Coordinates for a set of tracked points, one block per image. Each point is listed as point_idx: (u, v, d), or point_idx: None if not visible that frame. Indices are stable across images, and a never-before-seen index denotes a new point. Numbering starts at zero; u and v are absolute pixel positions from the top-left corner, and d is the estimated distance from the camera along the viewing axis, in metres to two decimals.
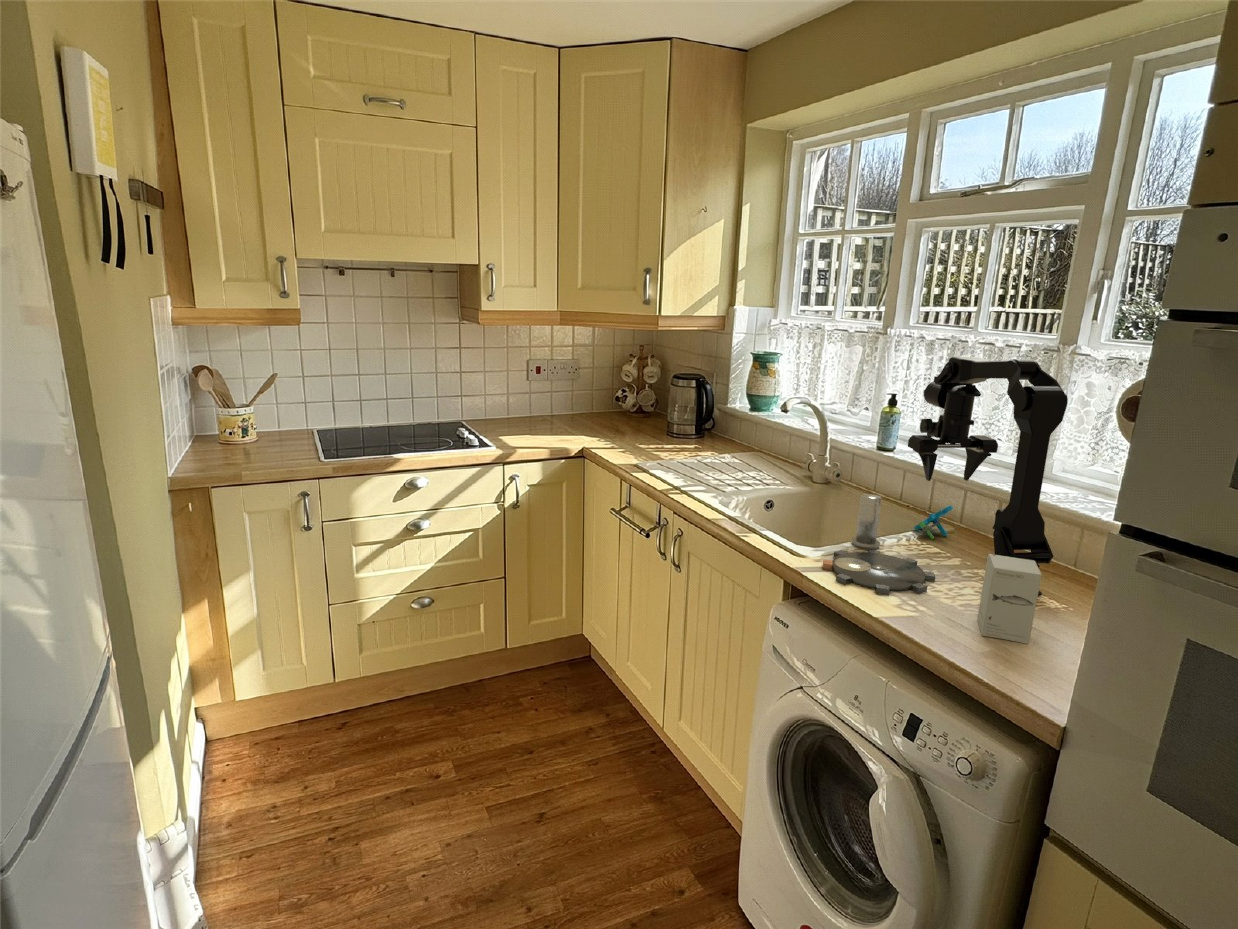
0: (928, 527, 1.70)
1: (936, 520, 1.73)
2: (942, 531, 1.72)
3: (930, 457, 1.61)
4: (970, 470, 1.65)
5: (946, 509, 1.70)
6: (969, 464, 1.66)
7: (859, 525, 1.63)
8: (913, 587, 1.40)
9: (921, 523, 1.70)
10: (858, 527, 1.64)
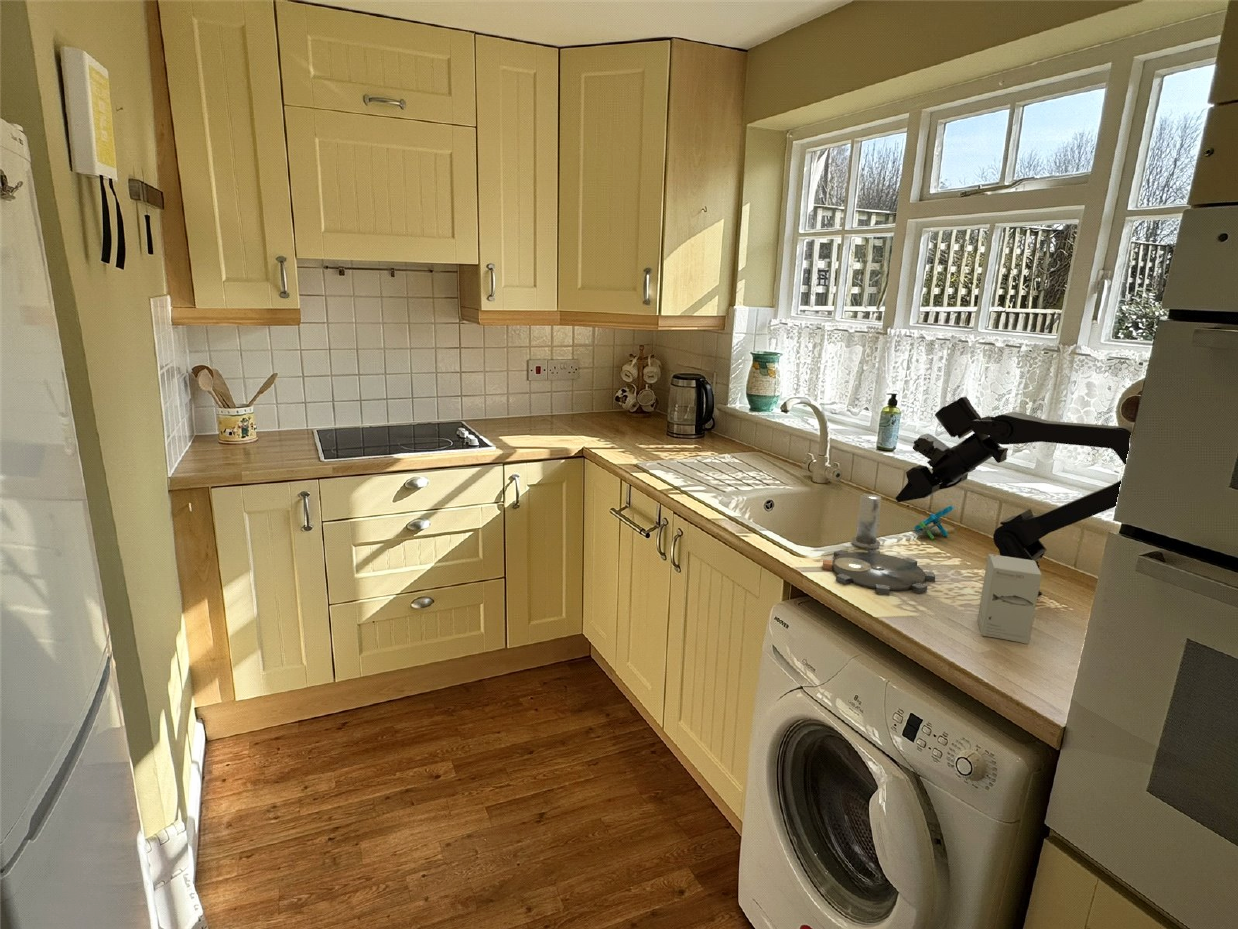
0: (928, 527, 1.70)
1: (936, 520, 1.73)
2: (942, 531, 1.72)
3: None
4: None
5: (946, 509, 1.70)
6: None
7: (859, 525, 1.63)
8: (913, 587, 1.40)
9: (921, 523, 1.70)
10: (858, 527, 1.64)
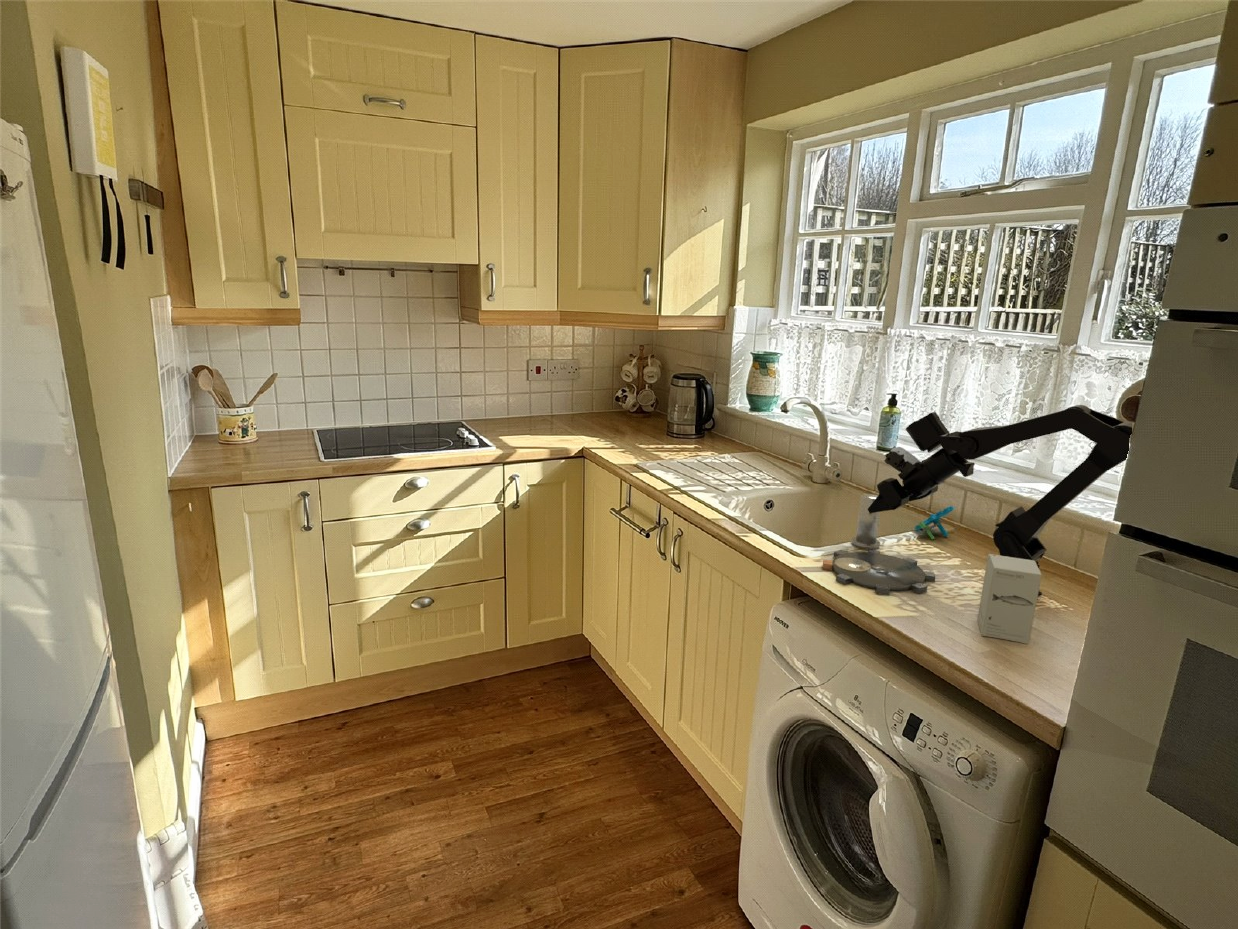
0: (928, 527, 1.70)
1: (937, 520, 1.73)
2: (943, 531, 1.72)
3: None
4: None
5: (947, 509, 1.70)
6: None
7: (859, 525, 1.63)
8: (913, 587, 1.40)
9: (921, 523, 1.70)
10: (858, 527, 1.64)
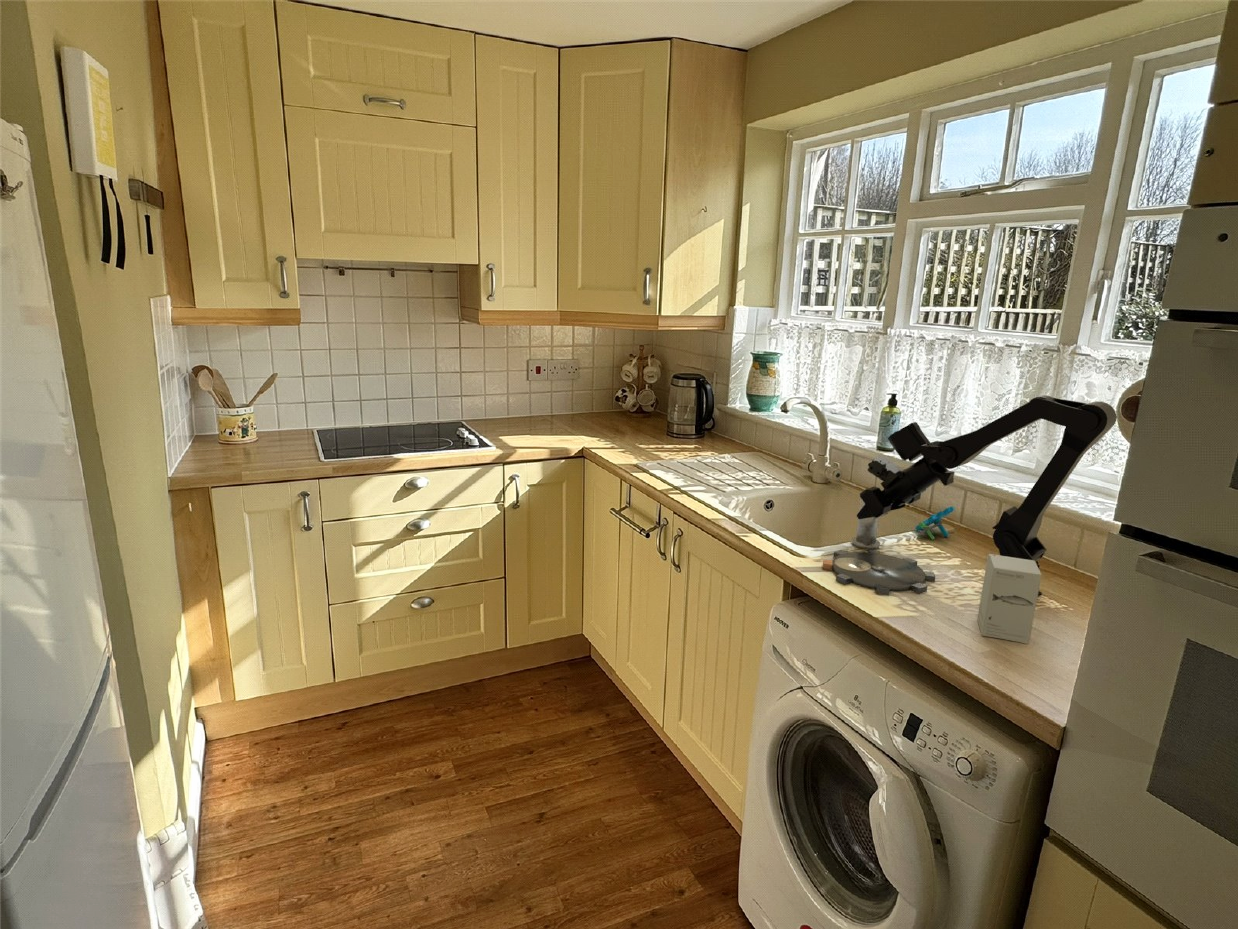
0: (928, 527, 1.70)
1: (937, 521, 1.72)
2: (943, 532, 1.72)
3: None
4: None
5: (947, 510, 1.70)
6: None
7: (859, 525, 1.63)
8: (913, 587, 1.40)
9: (921, 523, 1.70)
10: (858, 527, 1.64)
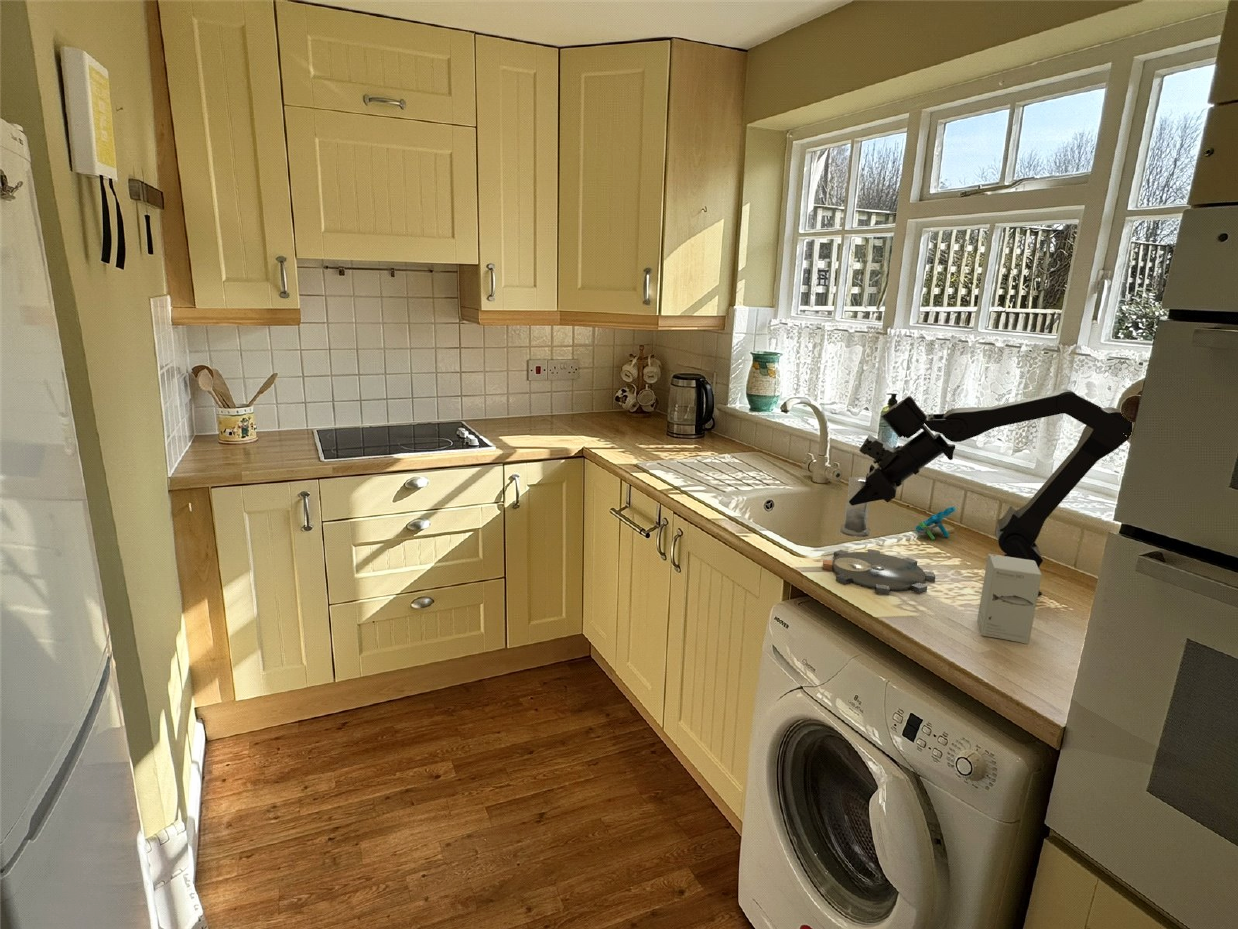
0: (929, 528, 1.70)
1: (938, 521, 1.72)
2: (944, 532, 1.72)
3: None
4: None
5: (947, 510, 1.69)
6: None
7: (850, 511, 1.51)
8: (913, 587, 1.40)
9: (921, 523, 1.70)
10: (849, 514, 1.51)
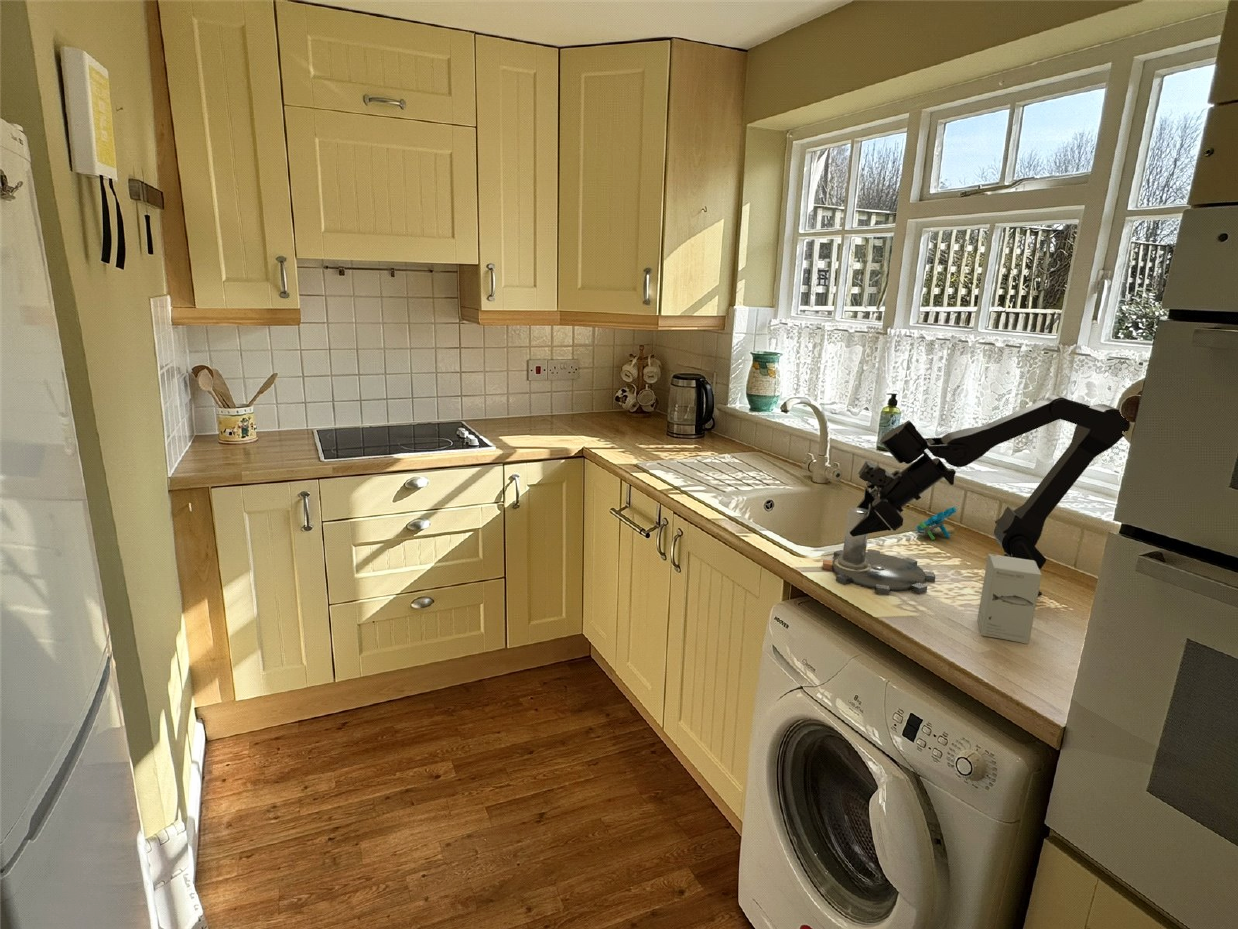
0: (929, 528, 1.70)
1: (939, 521, 1.72)
2: (944, 532, 1.71)
3: None
4: None
5: (948, 510, 1.69)
6: None
7: (850, 544, 1.47)
8: (913, 587, 1.40)
9: (921, 523, 1.70)
10: (848, 546, 1.47)
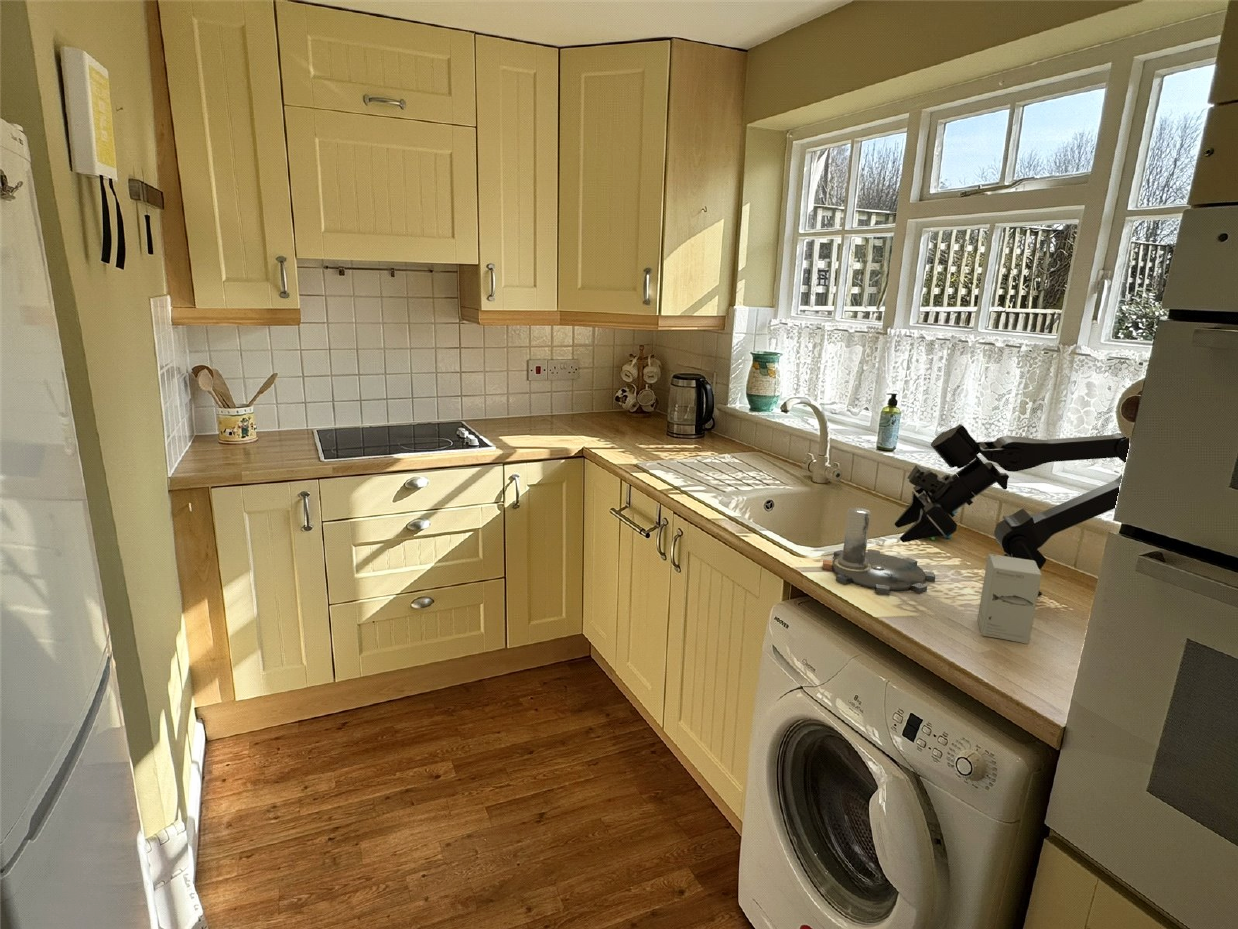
0: None
1: None
2: None
3: None
4: (910, 522, 1.49)
5: None
6: (911, 515, 1.49)
7: (850, 544, 1.47)
8: (913, 587, 1.40)
9: None
10: (848, 546, 1.47)
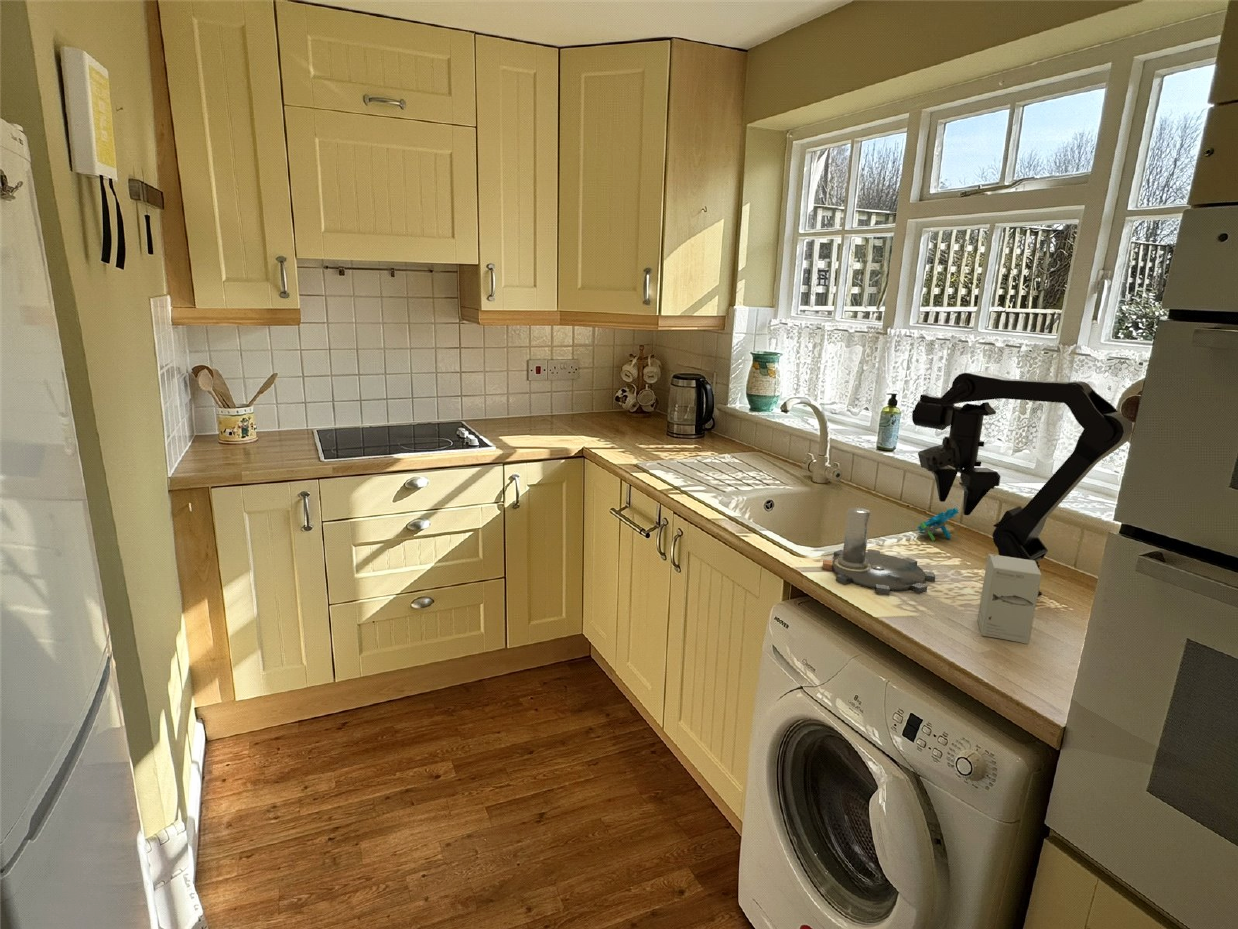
0: (929, 528, 1.70)
1: (940, 522, 1.72)
2: (946, 533, 1.71)
3: None
4: (949, 489, 1.54)
5: (949, 511, 1.68)
6: (944, 484, 1.54)
7: (850, 544, 1.47)
8: (913, 587, 1.40)
9: (922, 524, 1.70)
10: (848, 546, 1.47)
